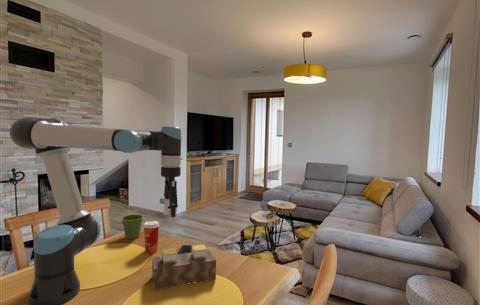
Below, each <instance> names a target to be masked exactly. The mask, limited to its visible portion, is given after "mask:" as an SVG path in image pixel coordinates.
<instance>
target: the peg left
mask: <svg viewBox="0 0 480 305" xmlns="http://www.w3.org/2000/svg"><path fill="white" fill-rule="evenodd" d="M176 254H177V250H176V248H175V247H170V248H163V249H161V256H162V265H167V264H174V263H176Z"/></svg>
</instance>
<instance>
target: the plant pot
mask: <svg viewBox="0 0 480 305" xmlns="http://www.w3.org/2000/svg"><path fill="white" fill-rule="evenodd" d="M144 217H145V216H144V215H143V214H136V213H135V214H134V213H133V214H126V215H123V216H122V217H120V220H121V221H122V225H123V230H124V237H125V238H126V239H128V240H129V239H137V238H139V237H140V234H141V227H142V223H143V219H144Z"/></svg>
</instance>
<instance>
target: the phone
mask: <svg viewBox="0 0 480 305" xmlns="http://www.w3.org/2000/svg"><path fill="white" fill-rule="evenodd" d="M192 246H193V245H189V244H183V245H181V247H180V249H179V250H178V251H177V252H176V254H184V253H192Z"/></svg>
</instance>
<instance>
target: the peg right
mask: <svg viewBox="0 0 480 305" xmlns="http://www.w3.org/2000/svg"><path fill="white" fill-rule="evenodd" d="M206 251H207V247H206V246H205V245H204V243H203V244H195V245H192V259H193V261H196V260H203V259H206Z"/></svg>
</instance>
